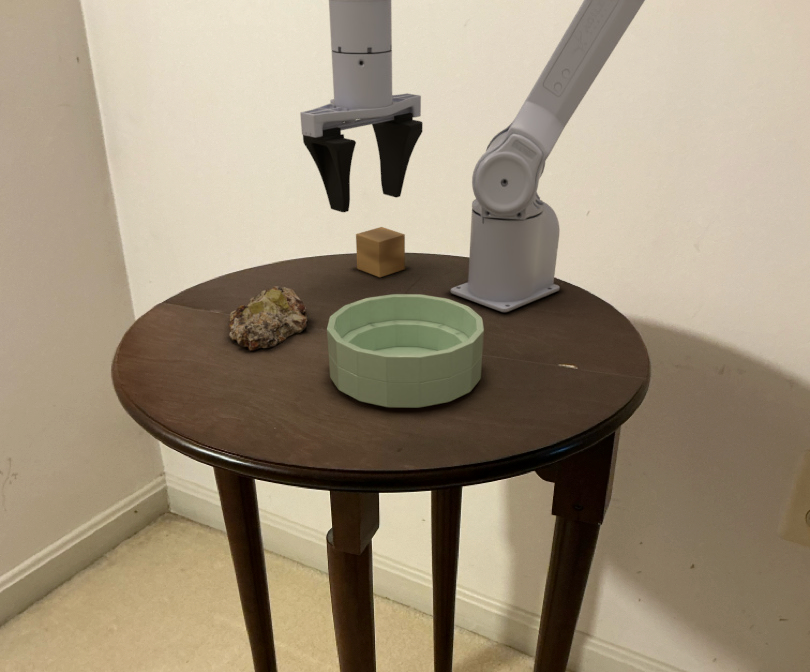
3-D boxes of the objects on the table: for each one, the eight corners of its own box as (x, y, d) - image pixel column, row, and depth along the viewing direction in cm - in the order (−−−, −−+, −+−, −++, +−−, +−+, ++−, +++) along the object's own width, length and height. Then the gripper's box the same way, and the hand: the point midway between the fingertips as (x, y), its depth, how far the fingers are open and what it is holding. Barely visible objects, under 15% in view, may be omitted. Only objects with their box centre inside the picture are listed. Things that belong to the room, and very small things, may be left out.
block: (382, 261, 92) (381, 226, 90) (405, 269, 90) (405, 234, 88) (357, 268, 90) (355, 233, 88) (379, 277, 88) (379, 241, 85)
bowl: (407, 333, 76) (407, 283, 73) (510, 377, 68) (515, 323, 65) (301, 375, 69) (296, 321, 66) (402, 429, 61) (402, 372, 58)
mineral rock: (239, 284, 80) (308, 268, 77) (255, 323, 82) (323, 309, 80) (198, 328, 72) (274, 312, 69) (217, 370, 74) (291, 356, 72)
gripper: (386, 40, 79) (388, 182, 87) (274, 53, 71) (288, 209, 79) (437, 46, 75) (434, 194, 83) (325, 60, 67) (334, 223, 75)
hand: (366, 202), depth 81 cm, fingers open, 7 cm apart
